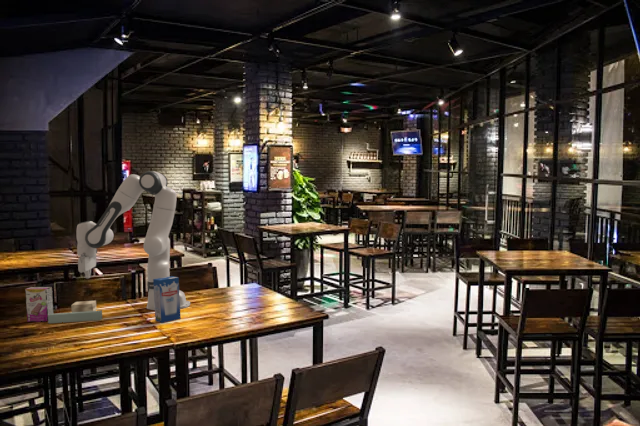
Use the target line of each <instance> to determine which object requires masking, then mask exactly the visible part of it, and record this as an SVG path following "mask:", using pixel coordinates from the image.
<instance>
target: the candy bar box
mask: <svg viewBox="0 0 640 426" xmlns="http://www.w3.org/2000/svg"><path fill="white" fill-rule="evenodd" d="M24 290H25V293H24V294H25V303H26V321H27V323H29V322H31V323H33V322H35V323H36V322H37V323H38V322H40V323H41V321H42V323H44V322H45V323H46V321H48V315H49V314H54V304H53V303H54V301H53V300H54V299H53V288H52V286H34V287H33V286H31V287H27V288H25V289H24Z"/></svg>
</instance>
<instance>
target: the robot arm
mask: <svg viewBox="0 0 640 426" xmlns="http://www.w3.org/2000/svg"><path fill="white" fill-rule="evenodd" d="M168 181H169V180H168V178H167V177H166V176H165V174H163V173H161V172H158V171H154V170H151V171H150V170H148V171H145V172H143V173H141V175H138V174H135V173H133V174H132V173H131V174H129V175H127V176H126V178H125V179H123V181H122V183H121V184H120V186H118V189H117V190H116V192H115V194H114V196H113V197H112V199H111V201H110V203H109V204H108V207H107V208H106V209H105V210H104V213H103V214H102V215H101V217H100V218H99V220H98V221H97V223H96V222H93V221H92V220H87V221H83V222H82V221H81V222H78V224H77V226H76V241H77V245H76V249H77V252H76V253H77V257H78V261H77V267H78V269H77V270H78V272H79V273H84V277H85V279H90V278H91V275H92V269H93V268H96V267H97V254H98V249H99V248H101V247H103V246H106V245H108V244H110V243H112V241H113V240H114V238H115V237H114V236H115V235H114V231H113V230H112V229H111V226H112V225H113V223H114V222H115V220H116V219H117V218H118V217H119V216H121V215H122V214H124V213H126V212H127V211H128V212H129V211H130V210H131V209H132V207H134V206H135V205H136V203H137V201H138V200H139V198H140V196H141V195H142V193H143V192H146V193H149V195H150V194H151V195H153V196H154V204H153V208H152V213H151V217H150V222H149V225H148V227H147V232H146V235H145V238H144V241H143V251H144V252H145V253H146V254H147V255H148V260H147V267H146V268H147V283H146V285H147V293H148V297H147V305H146V309H147V310H152V311H155V302H154V283H153V279H158V278H164V277H170V275H171V274H170V273H171V272H170V260H171V259H170V258H171V256H170V255H171V239H170V238H169V236H170V232H171V229H172V226H173V223H174V218H175V214H176V208H177V198H178V197H177V192H176V190H175V189H173V188H172V187H168ZM179 296H180V309H185V308H188V307H190V306H191V301H190V300H187V299H186V295H185V292H184V291H182V290H180V289H179Z"/></svg>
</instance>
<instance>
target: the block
mask: <svg viewBox="0 0 640 426" xmlns="http://www.w3.org/2000/svg"><path fill="white" fill-rule="evenodd" d="M96 310H97V300H85V301H75V302H74V303H72V304H71V312H85V311H96Z"/></svg>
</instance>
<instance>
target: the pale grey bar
mask: <svg viewBox="0 0 640 426" xmlns="http://www.w3.org/2000/svg"><path fill="white" fill-rule="evenodd" d="M102 319H103V310H97V311H85V312H72V311H70V312H59V313H58V312H57V313H53V314H49V315H48V322H47V323H48V324H62V322H63V323H75V322H77V323H78V322H91V321H102Z"/></svg>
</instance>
